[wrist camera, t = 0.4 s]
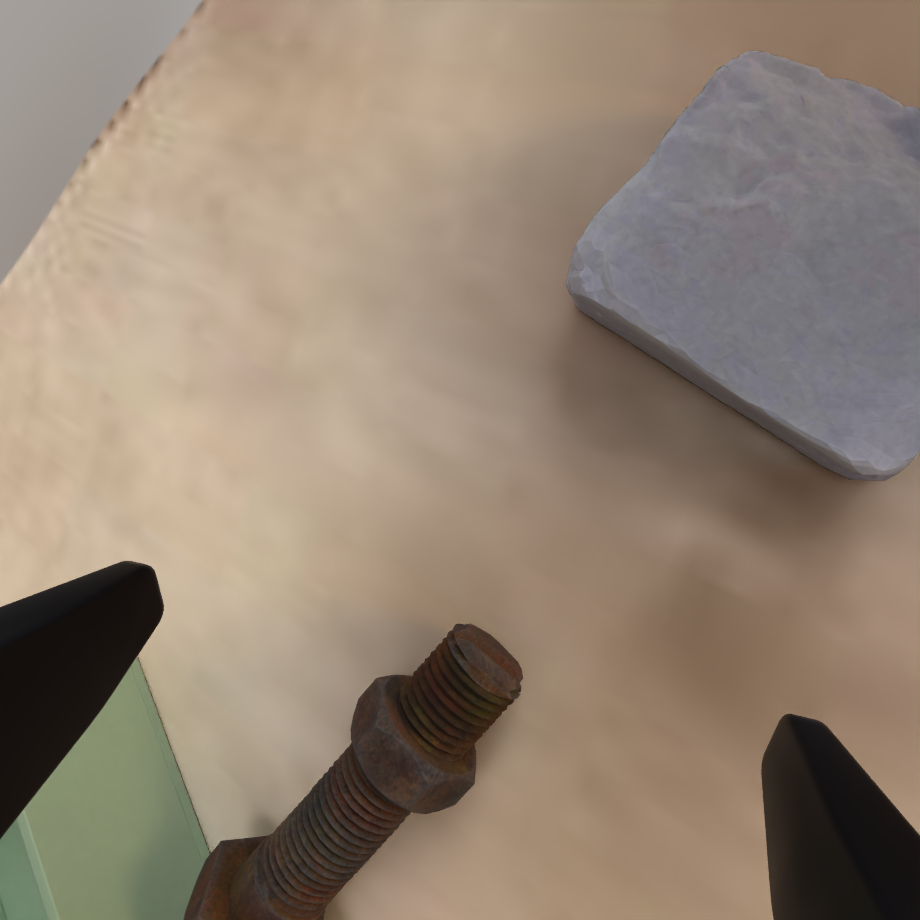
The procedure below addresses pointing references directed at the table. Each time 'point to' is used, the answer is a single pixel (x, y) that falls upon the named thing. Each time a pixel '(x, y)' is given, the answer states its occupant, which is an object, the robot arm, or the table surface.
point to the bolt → (368, 785)
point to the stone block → (777, 260)
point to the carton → (107, 825)
